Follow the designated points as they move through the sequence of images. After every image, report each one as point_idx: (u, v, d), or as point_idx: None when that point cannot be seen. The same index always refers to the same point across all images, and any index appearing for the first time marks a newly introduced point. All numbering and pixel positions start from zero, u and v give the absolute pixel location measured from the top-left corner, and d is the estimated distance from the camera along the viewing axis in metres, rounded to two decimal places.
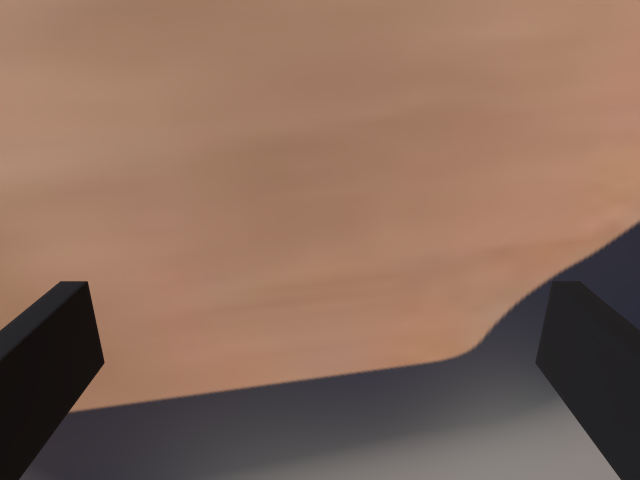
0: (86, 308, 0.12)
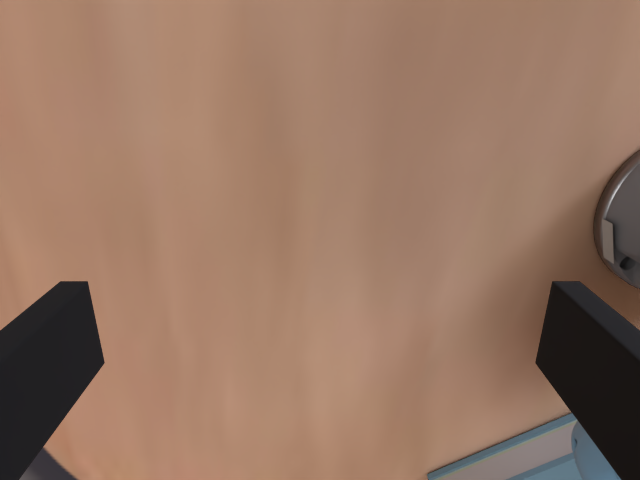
0: (86, 308, 0.12)
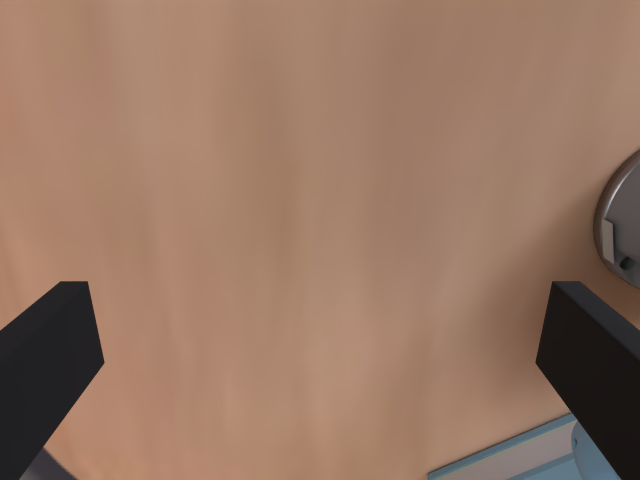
0: (86, 308, 0.12)
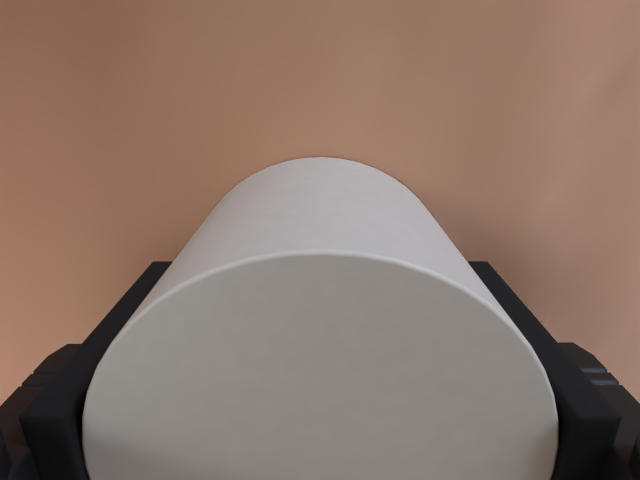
0: None
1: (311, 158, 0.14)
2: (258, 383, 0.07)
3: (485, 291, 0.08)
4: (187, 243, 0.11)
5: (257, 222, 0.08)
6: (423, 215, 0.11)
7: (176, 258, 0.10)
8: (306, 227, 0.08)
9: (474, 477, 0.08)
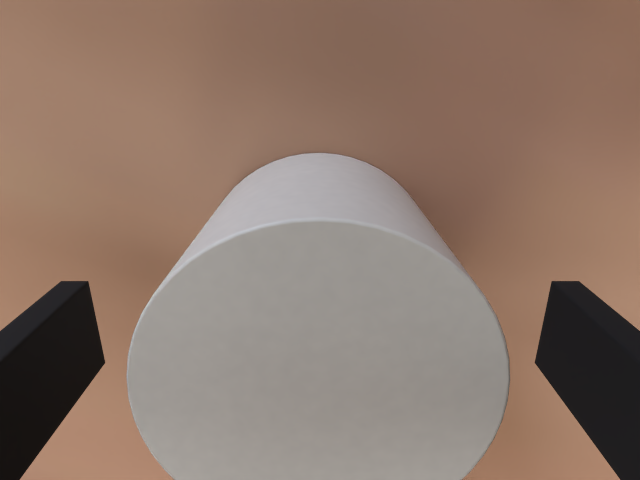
0: (87, 308, 0.12)
1: (310, 154, 0.15)
2: (269, 327, 0.09)
3: (450, 255, 0.10)
4: (206, 224, 0.13)
5: (268, 201, 0.10)
6: (405, 200, 0.13)
7: (198, 234, 0.12)
8: (307, 203, 0.10)
9: (443, 407, 0.10)
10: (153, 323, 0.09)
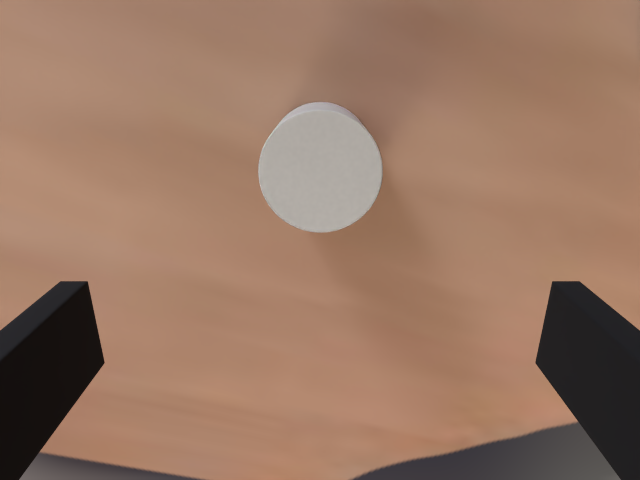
0: (86, 308, 0.12)
1: (317, 102, 0.36)
2: (305, 146, 0.30)
3: (362, 125, 0.31)
4: None
5: (303, 109, 0.31)
6: (353, 116, 0.34)
7: None
8: (317, 108, 0.30)
9: (361, 177, 0.31)
10: (269, 145, 0.30)
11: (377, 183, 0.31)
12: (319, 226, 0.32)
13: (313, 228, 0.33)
